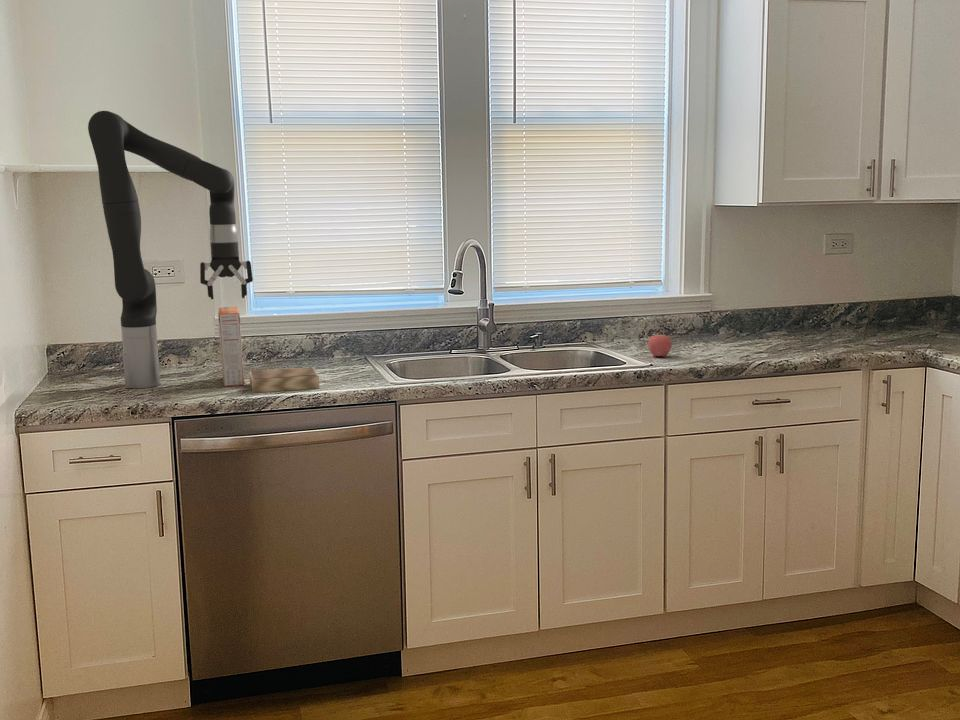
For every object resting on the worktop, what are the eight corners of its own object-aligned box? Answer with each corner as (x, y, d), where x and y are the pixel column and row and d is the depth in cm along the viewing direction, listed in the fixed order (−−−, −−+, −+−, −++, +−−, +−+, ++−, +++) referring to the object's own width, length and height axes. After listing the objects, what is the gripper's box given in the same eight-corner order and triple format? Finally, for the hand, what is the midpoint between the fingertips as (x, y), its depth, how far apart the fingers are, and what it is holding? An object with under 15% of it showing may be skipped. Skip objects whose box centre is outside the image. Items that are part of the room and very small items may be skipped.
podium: (252, 392, 251) (252, 379, 250) (250, 383, 263) (249, 370, 262) (319, 388, 256) (318, 374, 255) (313, 379, 268) (313, 366, 267)
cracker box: (221, 377, 272) (217, 307, 268) (243, 376, 273) (239, 306, 270) (222, 387, 258) (217, 313, 255) (244, 385, 260) (240, 312, 256)
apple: (647, 358, 296) (647, 333, 295) (648, 354, 303) (649, 330, 302) (670, 359, 294) (671, 334, 293) (671, 355, 301) (672, 331, 300)
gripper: (197, 242, 253) (201, 301, 256) (251, 240, 257) (254, 298, 260) (197, 241, 260) (201, 298, 263) (249, 239, 264) (252, 295, 267)
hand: (227, 298), depth 262 cm, fingers open, 8 cm apart
